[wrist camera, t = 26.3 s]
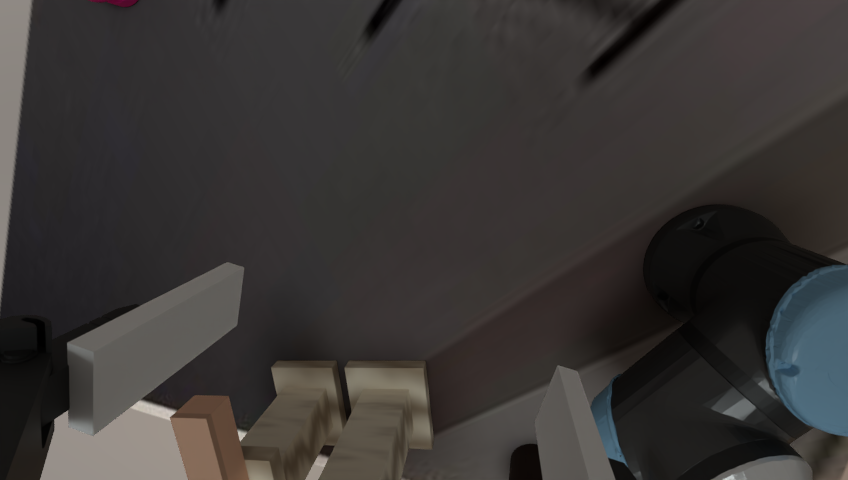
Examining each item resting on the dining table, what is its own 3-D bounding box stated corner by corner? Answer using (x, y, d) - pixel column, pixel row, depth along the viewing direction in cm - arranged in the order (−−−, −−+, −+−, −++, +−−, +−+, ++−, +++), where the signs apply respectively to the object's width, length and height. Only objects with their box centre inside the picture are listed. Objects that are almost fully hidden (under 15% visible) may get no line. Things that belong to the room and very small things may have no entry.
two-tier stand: (433, 439, 64) (386, 691, 35) (293, 434, 68) (149, 654, 40) (425, 360, 60) (365, 568, 32) (277, 360, 65) (108, 543, 36)
